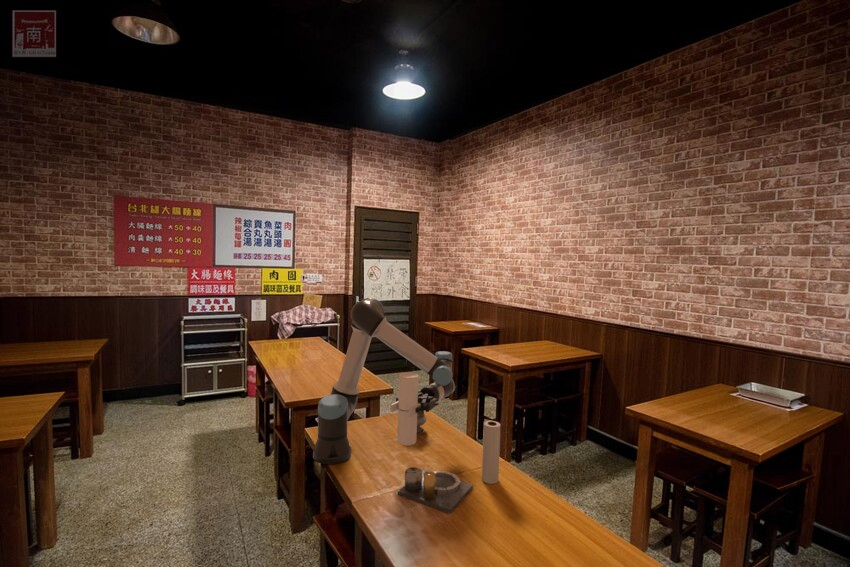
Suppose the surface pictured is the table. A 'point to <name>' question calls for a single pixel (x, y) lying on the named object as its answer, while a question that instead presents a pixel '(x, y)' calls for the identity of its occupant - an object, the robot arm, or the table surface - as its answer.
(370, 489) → the table surface
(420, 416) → the apothecary jar
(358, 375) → the robot arm
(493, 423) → the paper towel roll
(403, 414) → the cylindrical container
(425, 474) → the carrier
